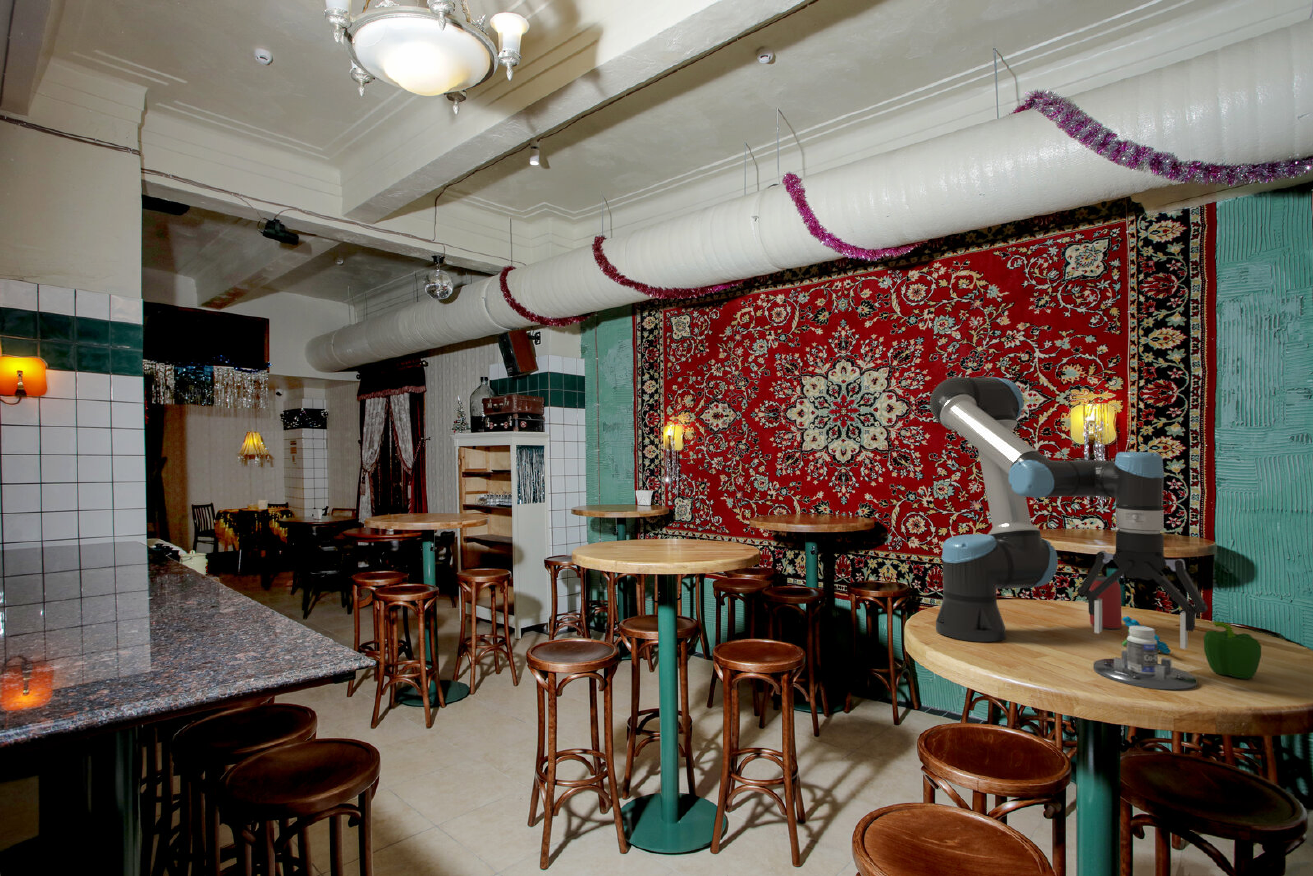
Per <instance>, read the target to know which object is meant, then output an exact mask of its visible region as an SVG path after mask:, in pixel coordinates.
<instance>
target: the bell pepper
mask: <svg viewBox="0 0 1313 876" xmlns="http://www.w3.org/2000/svg"><path fill="white" fill-rule="evenodd" d="M1213 625H1214V627H1215V628H1218V627H1220V628H1221V627H1222V628H1223V629H1225V630H1223V631H1216V630H1206V632H1205V633H1204V635H1203V648H1204V654H1205V657H1206V660H1207V663H1208V665H1209V667H1210V669H1211V670H1212V672H1214V673H1215V674H1219V675H1223V676H1228V677H1229V676H1231V677H1232V678H1233V677H1234V678H1236V679H1245V680H1248V679H1252V678H1253V677H1254V676H1255V675H1256V673H1257V671H1258V669H1259V666H1260V661H1261V657H1262V646H1261V644H1260V642H1259V640H1258V639H1256V638H1254V637H1253V635H1251V634H1249V633H1245V632H1244V633H1238V634H1237V633H1235V632H1234V630H1233V628H1232V627H1231V626H1230V625H1229V624H1227V623H1225V622H1221V621H1214V622H1213Z"/></svg>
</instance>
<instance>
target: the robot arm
mask: <svg viewBox="0 0 1313 876" xmlns="http://www.w3.org/2000/svg"><path fill="white" fill-rule="evenodd" d="M929 399H930V400H929V407H930V412H931V413H932V416H934V418H935V419H936V421H938V423H940V424H941V425H942V426H943V427H945V428H946V429H947V430H955V432H957V433H958V434H960V435H961V436H962V437H963V438H964V439H965V440H967V441H968V442H969V443H970V444H971V445H972V446H974V447H975V449H977V451H978V458H979V461H980V467H981V473H982V477H983V478H982V479H983V482H984V483H983V484H984V489H985V493H986V499H987V503H988V504H987V505H988V509H989V512H990V513H989V514H990V521H991V526H992V528H991V529H990V530H989V532H988V533H987V534H985V533H975V534H974V533H973V534H969V533H968V534H962V535H961V534H960V535H955V536H950V537H949V538H947V539H946V540H944V542H942V543H943V544H942V554H941V561H942V593H943V595H942V602H941V605H940V609H939V611H938V614H937V617H936V620H935V630H936V632H937V633H938V632H939V633H938V634H940V633H941V634H940V635H942V634H943V635H942V636H944V635H945V637H947V636H950V637H949V638H951V637H952V639H955V638H956V639H955V640H961V641H969V642H979V643H990V642H991V643H992V642H999V641H1003V640H1005V639H1006V637H1007V635H1006V632H1007V631H1006V629H1007V628H1006V625H1005V623H1004V620H1003V618H1002V615H1001V611H1000V609H999V606H998V603H997V597H998V596H997V589H999V590H1001V589H1002V590H1003V589H1022V588H1023V589H1032V588H1035V587H1036V588H1037V587H1042V586H1045V585H1047V584H1048V583H1050V582H1051V581H1052V580H1053V578H1054V576H1055V575H1056V574H1057V570H1058V560H1059V558H1058V554H1057V551H1056V549H1055V546H1054V545H1052V543H1051V542H1050V541H1048V540H1046V539H1045V538H1042V535H1041V530H1040V528H1038V527H1037V526H1035V525H1034V524H1033V523H1032V522H1031V521H1032V520H1031V515H1030V511H1029V507H1028V501H1027V498H1032V499H1038V498H1039V499H1040V498H1057V497H1058V498H1059V497H1060V498H1061V497H1062V498H1063V497H1074V498H1075V497H1101V498H1112V499H1115V527H1116V528H1117V529H1118V530H1117V531H1116V532H1115V551H1114V553H1111V552H1110V553H1109V552H1106V551H1105V550H1100V551H1098V552H1097V553H1096V555H1095V556H1096V557H1095V562H1094V564H1093V565H1092V567H1091V569H1090V570H1089V572H1088V574H1087V575H1086V577H1085V578H1084V580H1083V581H1082V582H1081V585H1080V587H1079V588H1078V590H1077V593H1078V595H1080V596H1083V597H1086V598H1087V600H1088V614H1089V616H1090V615H1094V626H1093V627H1094V629H1093V630H1094V631H1093V632H1094V634H1101V632H1103V628H1102V599H1099V598H1098V599H1097V597H1098V596H1099V595H1100V594H1101V593H1102V592H1104V591H1105V590H1106V589H1107V588H1108V587H1109V586H1111V585H1112V584H1113V583H1114V582H1115V581H1116V580H1118V581H1119V579H1120V578H1122V576H1124V575H1125V576H1126V577H1128V579H1140V580H1143V581H1144V580H1145V581H1149V580H1152V579H1153V580H1154V582H1156V583H1157V584H1158V585H1159V586H1161V588H1162V589H1163V590H1164V591H1165V592H1166V593H1167V594H1168V595H1169V597H1171V599H1172V600H1173V601H1174V602H1175V603H1176V604H1177V605H1178V606H1179V607H1180V608H1181V609H1182V611H1181V612H1180V613H1179V643H1180V644H1179V648H1180V649H1182V650H1186V649H1187V648H1188V646H1189V645H1188V642H1189V640H1188V638H1189V637H1188V635H1189V634H1188V633H1189V632H1194V630H1195V628H1196V614H1200V613H1201V614H1202V613H1203V614H1204V613H1206V612H1207V610H1208V609H1209V607H1208V605H1207V603H1206V602H1205V600H1204V598H1203V597H1202V595H1201V593H1200V592H1199V590H1198V588H1197V587H1196V585H1195V584H1194V582H1193V580H1192V578H1191V577H1190V575H1189V574H1188V572H1187V568H1186V561H1185V559H1183V558H1179V559H1166V558H1165V555H1164V553H1165V552H1164V551H1165V550H1164V547H1165V546H1164V542H1165V541H1164V540H1165V539H1164V534H1163V533H1161V531H1163V530H1164V529H1165V528H1164V526H1165V525H1164V516H1165V515H1164V511H1165V510H1164V480H1165V479H1164V478H1165V471H1164V462H1163V456H1162V455H1161V454H1160V453H1158V452H1155V451H1154V452H1153V451H1150V452H1149V451H1147V452H1146V451H1142V452H1141V451H1119V452H1117V453H1116V455H1115V460H1114V461H1111V460H1110V461H1108V460H1093V459H1078V460H1077V459H1076V460H1052V459H1049V458H1048V457H1046V456H1045V455H1044V454H1043V453H1040V452H1039V451H1038V450H1037V449H1035V448H1034V447H1032V446H1031V445H1030V444H1028V443H1027V442H1026V441H1025V440H1023V439H1022V438H1020V436H1018V435H1016V434H1015V433H1014V432H1013V431H1014V429H1015V428H1016V427H1017V425H1018V419H1019V418H1020V417H1021V415H1022V414H1023V410H1022V409H1023V408H1024V405H1025V404H1024V403H1025V400H1024V397H1023V393H1022V391H1021V389H1020V388H1019V386H1018V385H1017V384H1016V383H1015V382H1014V381H1011V380H1010V379H1007V378H1000V377H996V376H995V377H994V376H991V377H969V376H968V377H963V376H954V377H951V378H950V377H949V378H947V379H945V380H943V381H942V382H941V381H940V383H939V384H938V385H937V386H936V387H935V388H934V389H933V391H932V392H931V394H930V398H929ZM1111 560H1112V561H1113V562H1114V563H1115V565H1116V566H1117V567H1118V568H1117V569H1116V570H1115V571H1114V572H1113V573H1112V574H1110V575H1109V576H1107V577H1108V578H1107V579H1106V580H1105V581H1104V582H1102V583H1101V584H1100V585H1099V586H1098V587H1097V588H1095V589H1094V590H1093V591H1090V590H1089V588H1090V587H1091V585H1092V584H1093V582H1094V580H1095V579H1096V577H1097V576H1099V574H1100V572H1101V571H1102V569H1103V568H1104V566H1105V564H1108V563H1109V562H1110V561H1111ZM1166 567H1169V568H1170V570H1171V571H1172V572H1175V573H1176V575H1177V577H1178V579H1179V581H1180V583H1181V584H1182V586H1183V588H1184V590H1185V591H1186V593H1187V595H1188V596H1189V598H1190V600H1191V601H1192V603H1193V604H1192V603H1191V602H1190V601H1189V600H1188V599H1187V598H1186V597H1185V596H1184V595H1183V594H1182V592H1181V591H1180V590H1179V589H1178V588H1177V587H1176V586H1175V585H1174V584H1173V583H1172V582H1171V581H1170V580H1169V579H1168V577H1167V576H1166V575H1165V574H1164V573H1163V572H1162V571H1163V570H1164V569H1165V568H1166Z"/></svg>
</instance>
